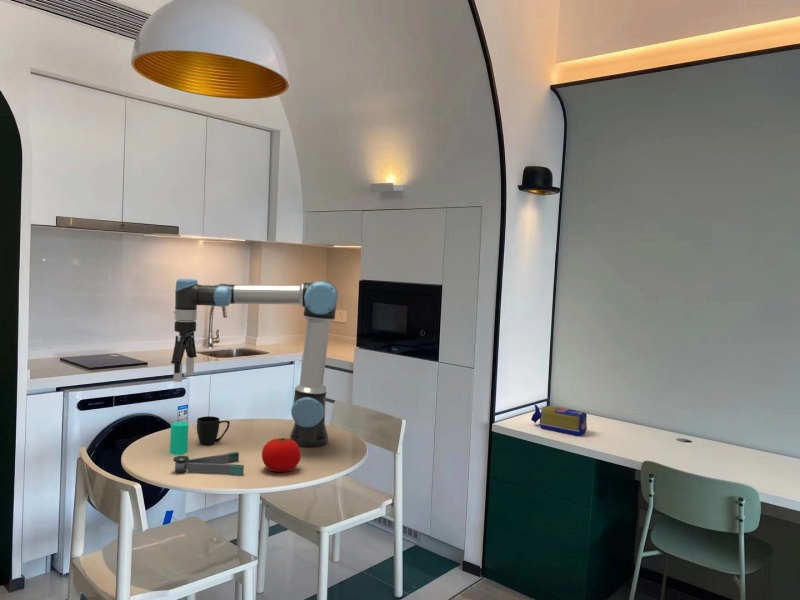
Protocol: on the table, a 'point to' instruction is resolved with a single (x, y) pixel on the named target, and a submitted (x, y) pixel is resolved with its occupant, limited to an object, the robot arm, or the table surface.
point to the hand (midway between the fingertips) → (183, 378)
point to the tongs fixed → (206, 467)
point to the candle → (179, 438)
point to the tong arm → (217, 459)
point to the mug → (209, 430)
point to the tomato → (281, 454)
